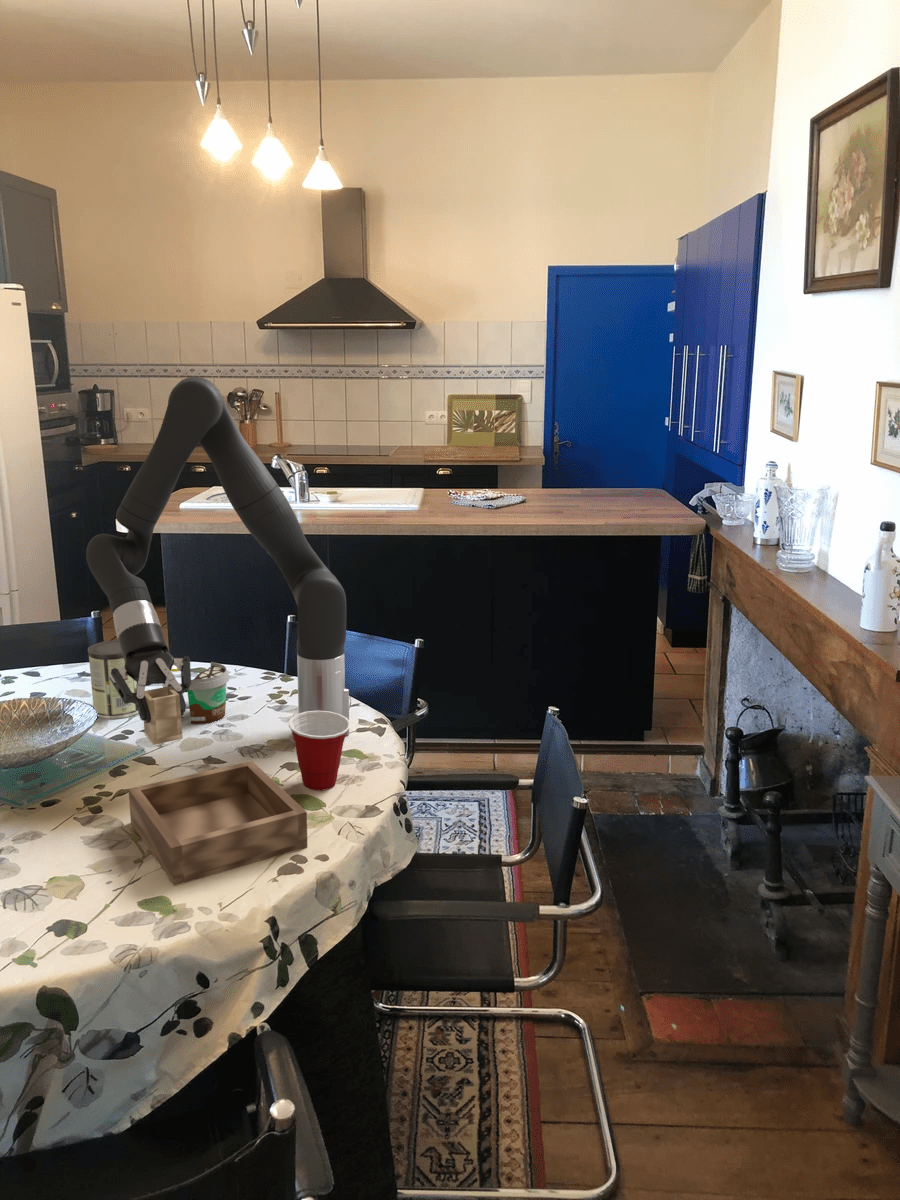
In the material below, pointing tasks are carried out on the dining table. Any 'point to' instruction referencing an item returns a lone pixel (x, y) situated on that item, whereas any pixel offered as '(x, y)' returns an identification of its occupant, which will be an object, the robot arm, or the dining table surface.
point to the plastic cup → (319, 746)
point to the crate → (216, 821)
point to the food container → (208, 695)
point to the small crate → (163, 715)
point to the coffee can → (109, 681)
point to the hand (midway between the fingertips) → (165, 717)
